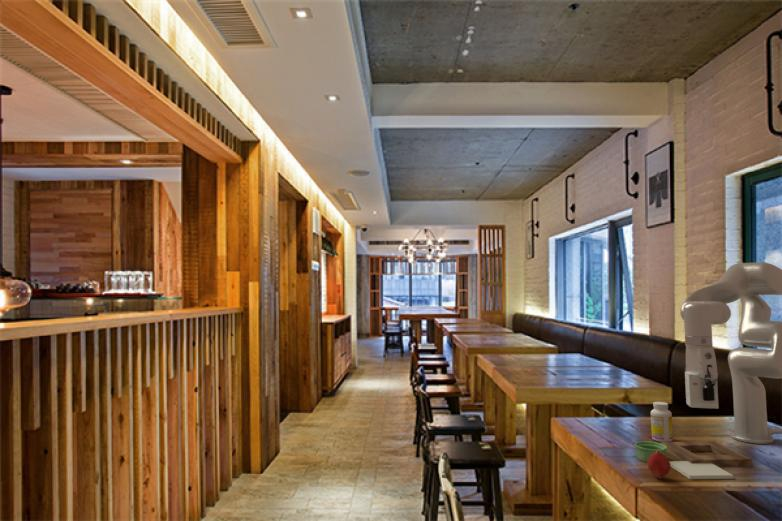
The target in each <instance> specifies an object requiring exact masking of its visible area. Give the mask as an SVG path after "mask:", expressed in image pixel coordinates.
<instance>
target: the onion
mask: <svg viewBox="0 0 782 521" xmlns="http://www.w3.org/2000/svg"><path fill="white" fill-rule="evenodd" d="M669 461H670V460H669V459H668V458H667V455H666V456H665V455H663V454H662V453H661V452H660V450H657V451H656V452H655V453H653V454H652V455H651V456H650V457H649V458H648V461H647V462H646V465H647V467H648V470H649V471H650V472H651V474H653V475H654V476H655V477H656V478H658V479H663V478H664V477H665V476H666V475H668V474H669V473H670V471H671V469H672V467H671V466H670V462H669Z"/></svg>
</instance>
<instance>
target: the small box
mask: <svg viewBox="0 0 782 521" xmlns="http://www.w3.org/2000/svg"><path fill="white" fill-rule="evenodd" d="M705 377H709V376H705ZM684 379H685V380H684V384H685V399H686V400H685V402H686V405H687V406H688V407H690V408H695V409H696V408H697V409H719V408H720V407H719V392H718V390H719V389H718V380H717V381H716V384H715V388H714V398H715V400H714V401H704V400H703V388H704V385H703V382H702V379H701V378H699V377H698V375H697V374H694V373H691V372H686V371H684ZM708 381H709V380H706V382H708Z"/></svg>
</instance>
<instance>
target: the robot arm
mask: <svg viewBox="0 0 782 521" xmlns="http://www.w3.org/2000/svg"><path fill="white" fill-rule="evenodd" d="M760 295H761V296H760ZM781 295H782V268H780V267H778V266H776V265H774V264H771V263H770V262H759V261H757V262H741V263H735V264H732V265H730V266H729V267H728V268H727V269H726V271H725V272H724V273H723V274H722V275H721V277H719V279H718V280H717V281H716V282H714V283H711V284H709V285H706V286H704V287H701V288H700V289H699V288H698V289H697V290H695V291H693V292H692V293H690V294H689V295H687V296H688V297H687V298H685V299H684V301H683V302H682V304H681V306H680V317H681V319H682V320H683V324H684V341H685V342H684V343H685V367H684V372H691V373H694V374H697V375H698V377H699V378H701V379H702V382H703V385H704V388H703V400H704V401H714V400H715V398H714V388H715V384H716V381H717V382H718V376H719V373H718V366H717V358H716V352H715V349H714V345H713V330H712V329H713V328H712V325H724V324H725V323H727V322H729V320H730V318H731V316H732V313H731V312H732V311H731V308H730V306H729V305H728V304H731V303H734V302H737V301H739V300H740V303H741V304H742V305H741V306H742V311H741V312H742V313H741V319H740V322H739V329H738V333H737V334H738V335H737V336H738V341H739V343H740V344H742V345H744V346H747V347H736V348H733V349H732V350H730V351H729V353H728V355H727V362H728V363H727V364H728V368H729V370H730V376H731V382H732V383H731V384H732V398H733V401H732V402H733V416H734V419H733V420H734V430H733V431H730V432H729V436H730V438H731V439H733V440H736V441H740V442H745V443H749V444H757V445H760V444H761V445H762V444H763V445H765V444H771V443H773V442H775V439H774V437H773V435H782V428H781V427H780V428H779V427H778V428H773V427H770V426H768V412H767V394H766V393H767V392H766V389H765V386H764V384H763V382H762V381H761V380H760V378H759V377H761V378H769V379H782V320H781V321H780V320H771V316H772V309H771V306H770V305H769V304H768V303H767V302H766V301H765V300H764V299H763V297H762V296H781ZM762 348H763V349H762ZM765 348H766V349H765ZM768 348H769V349H768ZM705 376H709V377H705ZM706 380H709V381H708V382H706Z"/></svg>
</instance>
